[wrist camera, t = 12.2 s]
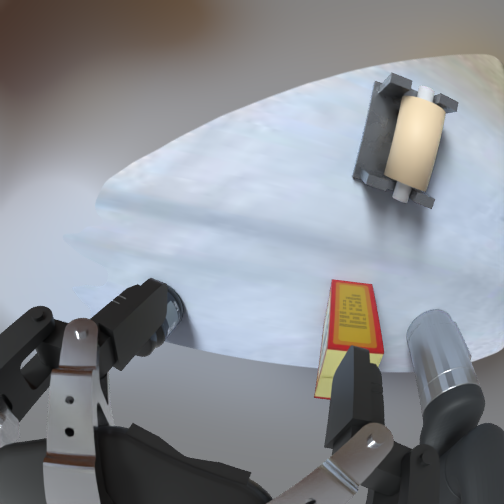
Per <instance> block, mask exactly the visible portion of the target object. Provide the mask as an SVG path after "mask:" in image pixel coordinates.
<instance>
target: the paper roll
mask: <svg viewBox="0 0 504 504" xmlns="http://www.w3.org/2000/svg"><path fill="white" fill-rule="evenodd" d="M433 98H434V90H433V89H431V88H429V87H426V86H419V89H418V95H417V97H414V96H402V100H401V105H400V110H399V115H398V119H397V124H396V128H395V133H394V137H393V141H392V145H391V149H390V153H389V157H388V160H387V164H386V168H385V171H384V175H385V176H387V177H389V178H392V179H394V180H396V181H397V183H396V186H395V190H394V193H393V196H392V197H393V198H394V199H396V200H398V201H401V202H404V203H407V202H408V199H409V196H410V193H411V190H412V187H414V188H416V189H419V190H422V191H425V192H426V190H427V187H428V184H429V181H430V177H431V174H432V170H433V167H434V163H435V159H436V155H437V151H438V147H439V143H440V138H441V134H442V129H443V124H444V119H445V114H446V112H445V111H444V110H443V109H442V108H441V107H439V106H438V105H436V104H434V103H433Z"/></svg>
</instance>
